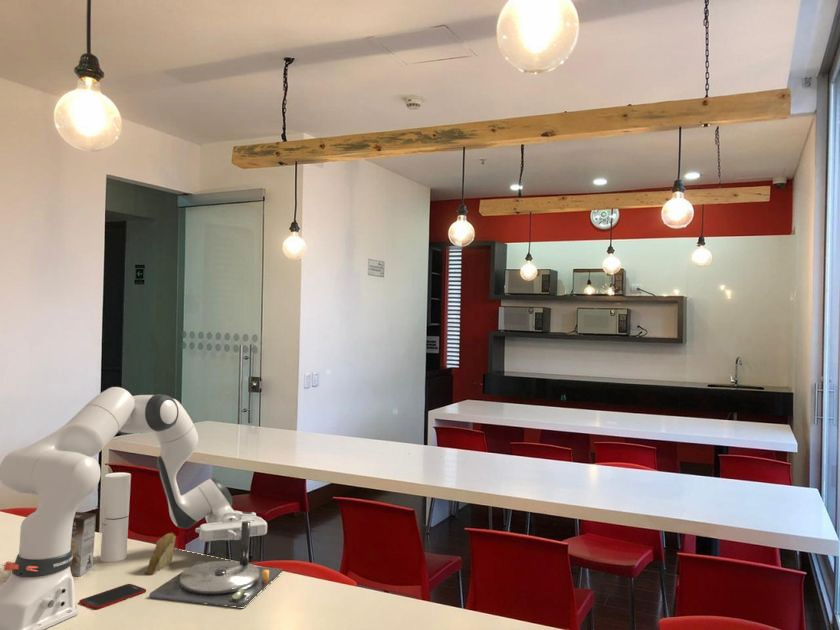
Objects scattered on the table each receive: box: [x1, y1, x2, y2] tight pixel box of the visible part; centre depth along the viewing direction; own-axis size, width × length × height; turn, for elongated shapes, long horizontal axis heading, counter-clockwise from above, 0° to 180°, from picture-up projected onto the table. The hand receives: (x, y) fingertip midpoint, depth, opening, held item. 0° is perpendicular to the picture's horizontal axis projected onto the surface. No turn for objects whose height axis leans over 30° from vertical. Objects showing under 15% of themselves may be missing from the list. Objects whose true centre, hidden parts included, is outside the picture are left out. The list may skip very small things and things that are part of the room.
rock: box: [145, 532, 177, 575], centre depth 192 cm, size 11×9×10 cm
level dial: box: [180, 521, 259, 594], centre depth 181 cm, size 21×21×14 cm
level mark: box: [262, 570, 269, 583], centre depth 181 cm, size 2×2×3 cm
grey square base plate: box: [149, 559, 283, 607], centre depth 181 cm, size 26×26×3 cm
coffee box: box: [70, 511, 97, 577], centre depth 187 cm, size 9×6×16 cm
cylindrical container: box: [99, 472, 132, 563], centre depth 199 cm, size 7×7×25 cm
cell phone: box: [78, 583, 147, 611], centre depth 170 cm, size 8×15×1 cm, turn 149°
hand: (239, 536), depth 196 cm, fingers closed
